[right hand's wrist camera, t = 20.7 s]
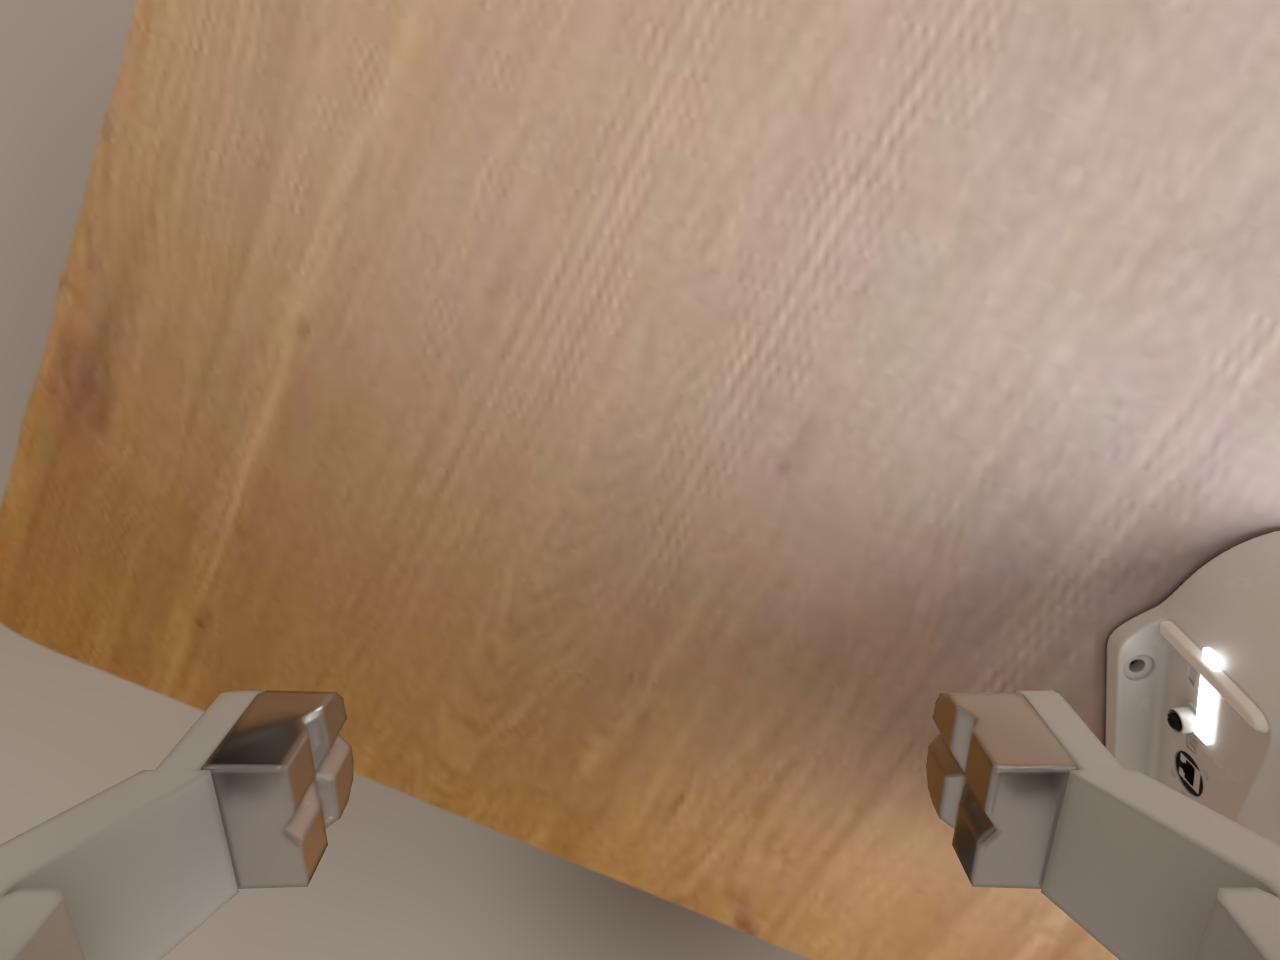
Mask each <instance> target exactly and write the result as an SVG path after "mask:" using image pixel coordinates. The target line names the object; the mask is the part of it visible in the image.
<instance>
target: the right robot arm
mask: <svg viewBox="0 0 1280 960" xmlns="http://www.w3.org/2000/svg"><path fill="white" fill-rule="evenodd" d="M1136 659H1137V660H1136ZM1134 660H1136V661H1135V662H1134V663H1133V664H1131V665H1130V663H1131V662H1132V661H1134ZM346 719H347V716H346V711H345V706H344V701H343V697H341V696H340V695H339V694H338V693H337V692H307V691H227V692H224V693H221V694H220V695H219V696H218V697H217V698H216V699H215V700H214V701H213V703H212V704H211V705H210V706H209V707H208V709H207V710H206V711H205V712H204V713H203V714H202V716H201V717H200V718H199V719H198V720H197V722H196V723H195V724H194V725H193V726H192V727H191V729H190V730H189V731H188V732H187V733H186V735H185V736H184V737H183V738H182V739H181V740H180V742H179V743H178V744H177V745H176V746H175V748H174V749H173V750H172V751H171V752H170V754H169V755H168V756H167V757H166V758H165V759H164V761H163V762H162V763H161V764H160V765H159V767H158V768H157V769H156V770H143V771H141V772H139V773H137V774H135V775H133V776H131V777H129V778H127V779H126V780H124V781H122V782H120V783H118V784H116V785H114V786H112V787H110V788H108V789H106V790H104V791H103V792H101V793H99V794H97V795H95V796H93V797H91V798H89V799H87V800H85V801H83V802H82V803H80V804H78V805H76V806H74V807H72V808H70V809H68V810H66V811H64V812H62V813H61V814H59V815H57V816H55V817H53V818H51V819H49V820H47V821H45V822H43V823H41V824H39V825H38V826H36V827H34V828H32V829H30V830H28V831H26V832H24V833H22V834H20V835H18V836H16V837H15V838H13V839H11V840H9V841H7V842H5V843H3V844H1V845H0V960H161V959H162V958H163V957H164V956H166V955H167V954H168V953H169V952H170V951H171V950H172V949H174V948H175V947H176V946H177V945H178V944H180V943H181V942H182V941H183V940H184V939H185V938H186V937H188V936H189V935H190V934H191V933H192V932H193V931H195V930H196V929H197V928H198V927H199V926H200V925H202V924H203V923H204V922H205V921H206V920H207V919H208V918H210V917H211V916H212V915H213V914H214V913H215V912H217V911H218V910H219V909H220V908H221V907H222V906H224V905H225V904H226V903H227V902H228V901H229V900H231V899H232V898H233V897H234V896H235V895H236V894H237V893H238V892H239V891H238V889H245V888H279V887H307V886H308V884H309V882H310V880H311V878H312V876H313V874H314V872H315V870H316V868H317V866H318V864H319V862H320V860H321V858H322V856H323V854H324V851H325V849H326V847H327V845H328V843H327V836H326V830H325V829H326V828H327V827H329V826H330V825H331V824H333V823H334V822H336V821H337V820H338V819H340V818H341V816H342V814H343V811H344V809H345V807H346V805H347V803H348V800H349V795H350V791H351V786H352V782H353V754H352V747H351V745H350V744H349V743H348V742H347V741H346V740H345V739H344V738H343V737H342V736H341V735H340V734H339V732H340V730H341V729H342V727H343V725H344V723H345V721H346ZM933 719H934V721H935V723H936V725H937V727H938V729H939V730H940V732H941V734H940V735H939V736H938V737H937V738H936V739H935V740H934V741H933V742H932V743H931V744H930V745H929V748H928V756H927V765H926V769H927V780H928V789H929V792H930V796H931V799H932V803H933V805H934V807H935V809H936V812H937V814H938V816H939V818H940V819H942V820H943V821H944V822H946V823H947V824H949V825H950V826H951V827H953V828H954V829H955V830H954V836H953V842H952V845H953V847H954V849H955V851H956V854H957V856H958V858H959V860H960V862H961V864H962V866H963V868H964V870H965V872H966V874H967V876H968V878H969V880H970V882H971V884H972V886H973V887H998V888H1034V889H1042V890H1041V892H1042V893H1043V894H1044V895H1045V896H1046V897H1048V898H1049V899H1050V900H1051V901H1052V902H1053V903H1054V904H1056V905H1057V906H1058V907H1059V908H1060V909H1061V910H1063V911H1064V912H1065V913H1066V914H1067V915H1068V916H1069V917H1071V918H1072V919H1073V920H1074V921H1075V922H1076V923H1078V924H1079V925H1080V926H1081V927H1082V928H1083V929H1085V930H1086V931H1087V932H1088V933H1089V934H1090V935H1091V936H1093V937H1094V938H1095V939H1096V940H1097V941H1098V942H1100V943H1101V944H1102V945H1103V946H1104V947H1105V948H1107V949H1108V950H1109V951H1110V952H1111V953H1112V954H1113V955H1115V956H1116V957H1117V958H1118V959H1119V960H1280V531H1275V532H1271V533H1268V534H1264V535H1261V536H1258V537H1255V538H1253V539H1250V540H1248V541H1245V542H1243V543H1241V544H1239V545H1236V546H1234V547H1232V548H1230V549H1229V550H1227V551H1225V552H1223V553H1221V554H1220V555H1218V556H1217V557H1215V558H1213V559H1212V560H1211V561H1209V562H1208V563H1206V564H1205V565H1204V566H1202V567H1201V568H1200V569H1198V570H1197V571H1196V572H1195V573H1194V574H1192V575H1191V576H1190V577H1189V578H1188V579H1187V580H1186V581H1185V582H1184V583H1183V584H1182V585H1181V586H1180V587H1179V588H1178V589H1177V590H1176V591H1175V592H1174V593H1173V594H1172V595H1170V596H1169V597H1168V598H1167V599H1166V600H1165V601H1163V602H1162V603H1161V604H1159V605H1158V606H1156V607H1154V608H1152V609H1150V610H1148V611H1146V612H1144V613H1142V614H1140V615H1138V616H1136V617H1134V618H1132V619H1130V620H1128V621H1127V622H1125V623H1123V624H1122V625H1120V626H1119V627H1118V628H1116V629H1115V630H1114V631H1113V632H1112V634H1111V635H1110V637H1109V639H1108V642H1107V675H1106V745H1105V746H1104V745H1103V744H1102V743H1101V742H1100V741H1099V739H1098V738H1097V737H1096V736H1095V735H1094V733H1093V732H1092V731H1091V730H1090V729H1089V728H1088V726H1087V725H1086V724H1085V723H1084V722H1083V720H1082V719H1081V718H1080V717H1079V716H1078V715H1077V713H1076V712H1075V711H1074V710H1073V709H1072V707H1071V706H1070V705H1069V704H1068V703H1067V702H1066V700H1065V699H1064V698H1063V697H1062V696H1061V695H1060V694H1059V693H1057V692H1055V691H1053V690H1036V691H1014V692H985V693H940V695H939V697H938V699H937V701H936V704H935V710H934V715H933Z"/></svg>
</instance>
